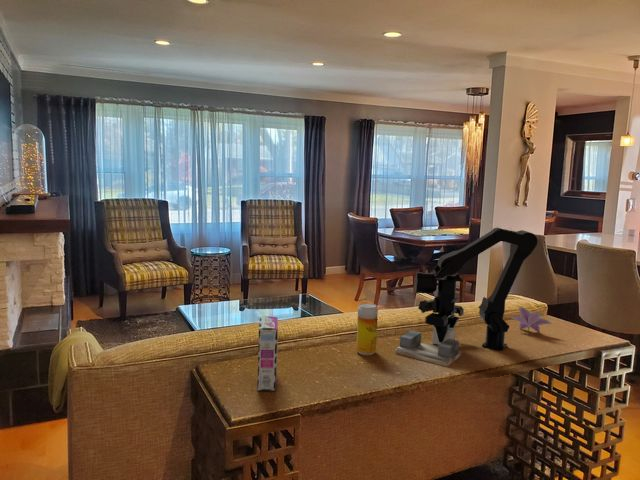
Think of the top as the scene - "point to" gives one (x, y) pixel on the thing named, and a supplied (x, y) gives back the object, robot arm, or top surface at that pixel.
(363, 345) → the beer can
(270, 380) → the candy bar box
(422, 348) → the rail board
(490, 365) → the top surface
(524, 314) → the lily
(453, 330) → the module block
